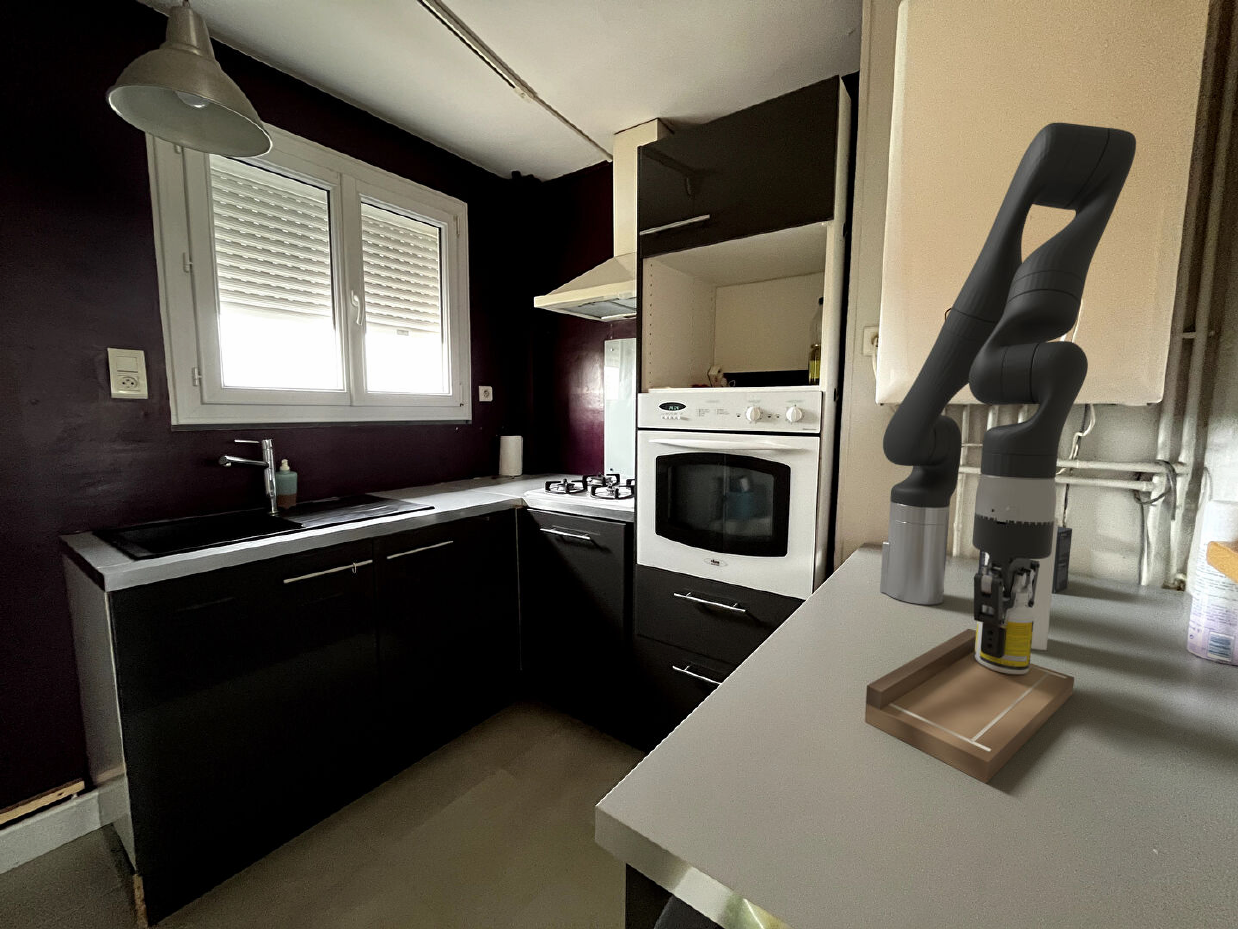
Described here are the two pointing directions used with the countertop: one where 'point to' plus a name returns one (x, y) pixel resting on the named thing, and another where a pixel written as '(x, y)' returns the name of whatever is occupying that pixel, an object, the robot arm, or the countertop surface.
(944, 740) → the board
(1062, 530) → the small box
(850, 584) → the countertop surface
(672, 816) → the countertop surface
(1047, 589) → the milk
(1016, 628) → the supplement bottle
